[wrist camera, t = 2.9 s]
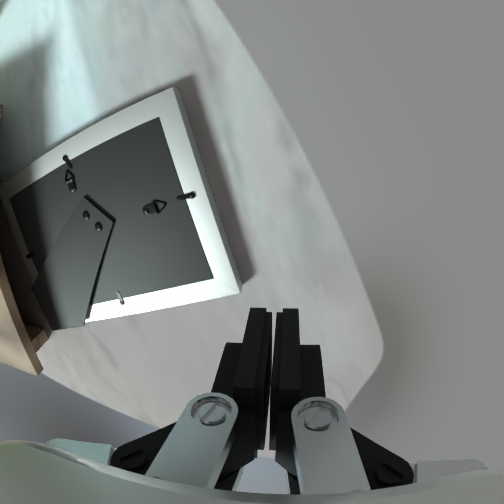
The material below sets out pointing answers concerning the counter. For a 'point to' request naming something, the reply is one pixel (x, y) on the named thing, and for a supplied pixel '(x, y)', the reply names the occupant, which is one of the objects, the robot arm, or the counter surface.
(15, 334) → the walnut shelf
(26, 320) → the counter surface
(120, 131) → the picture frame
